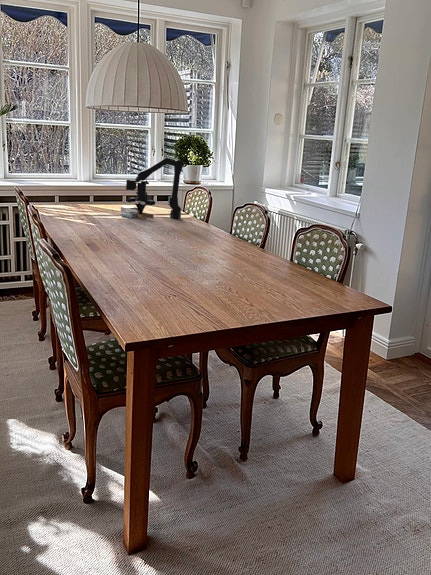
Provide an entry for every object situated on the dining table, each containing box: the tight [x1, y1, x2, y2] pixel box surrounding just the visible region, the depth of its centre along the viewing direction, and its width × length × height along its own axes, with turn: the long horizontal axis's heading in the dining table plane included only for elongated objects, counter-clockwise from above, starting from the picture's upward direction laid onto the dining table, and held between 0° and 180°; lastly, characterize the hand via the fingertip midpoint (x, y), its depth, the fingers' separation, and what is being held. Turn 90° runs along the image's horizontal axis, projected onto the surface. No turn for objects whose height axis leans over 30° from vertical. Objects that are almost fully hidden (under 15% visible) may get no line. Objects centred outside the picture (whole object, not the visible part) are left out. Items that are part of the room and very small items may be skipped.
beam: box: [120, 211, 154, 220], centre depth 353 cm, size 22×9×3 cm, turn 61°
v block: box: [121, 212, 138, 220], centre depth 347 cm, size 8×6×3 cm
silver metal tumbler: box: [120, 205, 140, 214], centre depth 355 cm, size 13×6×6 cm, turn 62°
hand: (140, 214), depth 351 cm, fingers closed
